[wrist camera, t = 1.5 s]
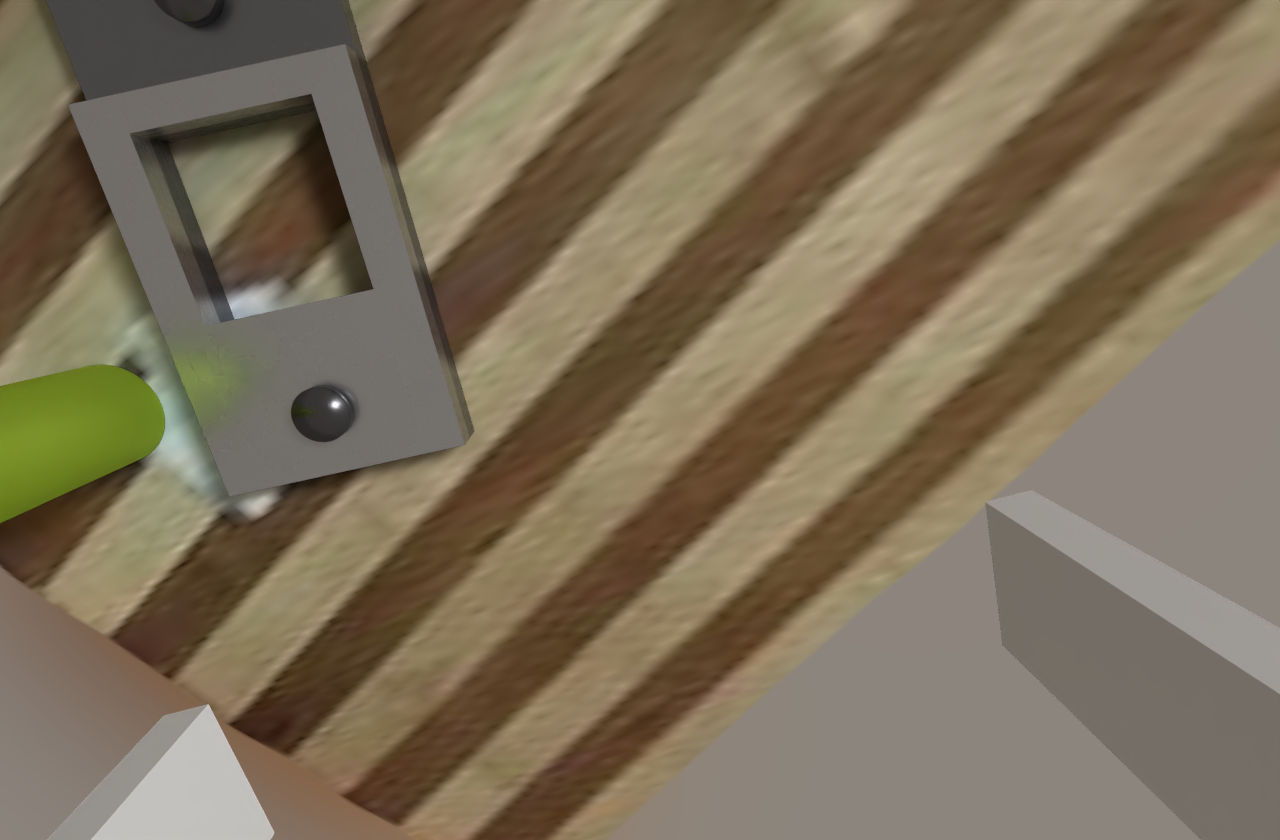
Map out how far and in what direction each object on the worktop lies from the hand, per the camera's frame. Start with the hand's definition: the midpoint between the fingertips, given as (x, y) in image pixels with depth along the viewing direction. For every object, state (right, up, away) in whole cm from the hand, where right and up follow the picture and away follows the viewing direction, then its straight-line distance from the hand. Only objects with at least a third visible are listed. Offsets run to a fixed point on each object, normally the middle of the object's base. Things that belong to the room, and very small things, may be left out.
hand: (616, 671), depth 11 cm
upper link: (-18, +12, +25) cm, 33 cm away
